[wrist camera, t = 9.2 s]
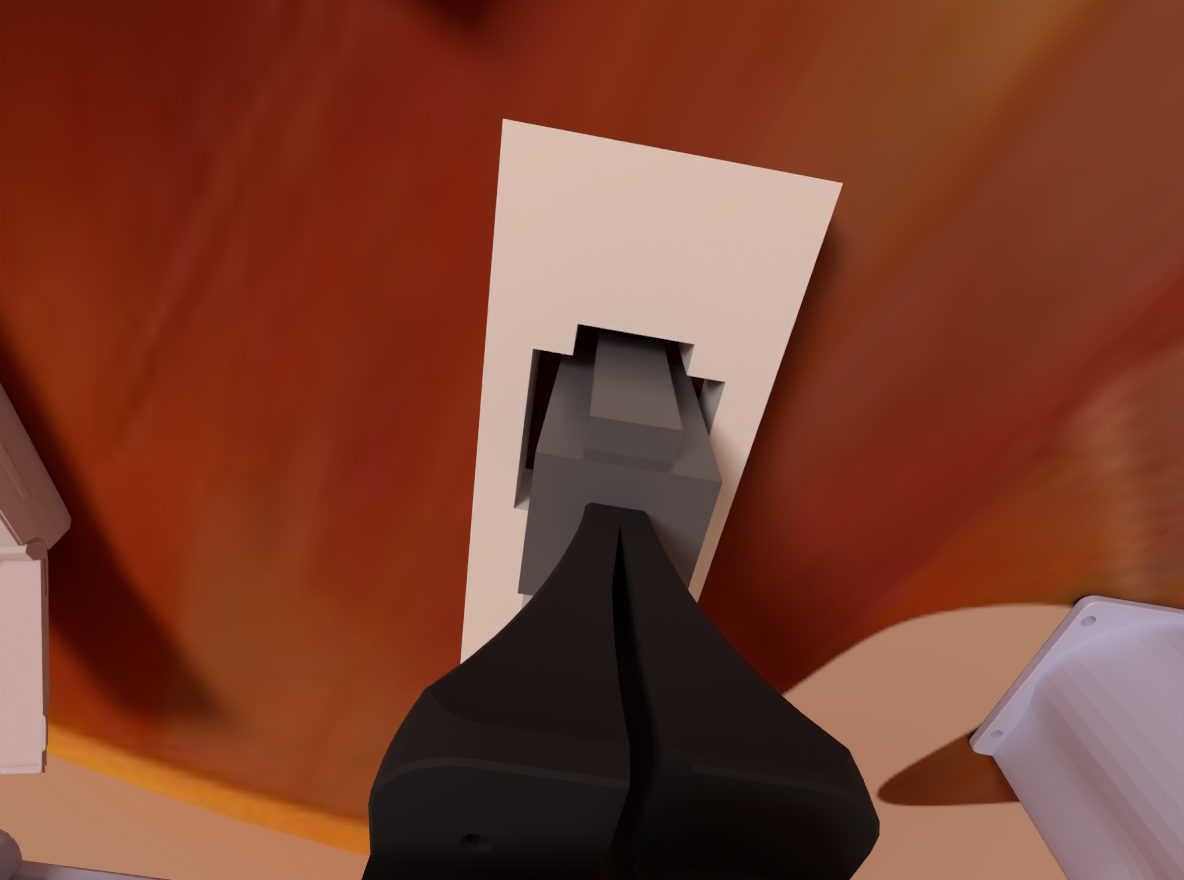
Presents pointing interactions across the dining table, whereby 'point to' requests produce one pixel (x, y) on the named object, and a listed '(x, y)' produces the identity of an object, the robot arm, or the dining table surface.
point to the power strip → (629, 308)
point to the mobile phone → (24, 594)
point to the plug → (620, 454)
